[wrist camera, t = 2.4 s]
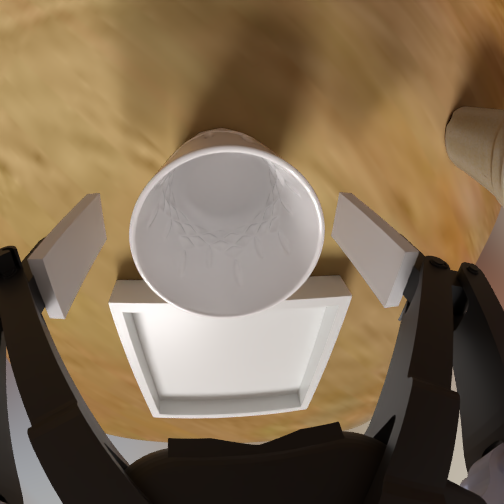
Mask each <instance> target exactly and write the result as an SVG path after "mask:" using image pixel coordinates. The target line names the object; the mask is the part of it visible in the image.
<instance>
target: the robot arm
mask: <svg viewBox="0 0 504 504" xmlns="http://www.w3.org/2000/svg"><path fill="white" fill-rule="evenodd" d="M331 236H332V237H333V239H334V240H335V241H336V242H337V244H338V245H339V246H340V248H341V249H342V250H343V252H344V253H345V254H346V255H347V257H348V258H349V259H350V261H351V262H352V263H353V265H354V266H355V267H356V269H357V270H358V271H359V273H360V274H361V276H362V277H363V278H364V280H365V281H366V282H367V284H368V285H369V287H370V288H371V289H372V291H373V292H374V294H375V295H376V296H377V298H378V299H379V301H380V302H381V303H382V305H383V306H384V308H387V307H395V306H398V305H399V303H400V300H401V298H402V296H403V295H404V296H405V298H406V299H407V302H406V304H405V306H404V309H403V311H402V313H401V315H400V317H399V319H398V320H399V321H401V324H400V328H399V332H398V336H397V340H396V344H395V348H394V352H393V355H392V359H391V363H390V366H389V369H388V373H387V376H386V379H385V382H384V385H383V388H382V391H381V394H380V397H379V400H378V403H377V406H376V409H375V411H374V414H373V417H372V419H371V422H370V424H369V427H368V429H367V431H366V432H365V434H364V435H363V434H359V433H354V432H345V431H342V429H341V427H340V424H339V422H335V423H331V424H326V425H321V426H316V427H311V428H305V429H300V430H298V431H295V432H293V433H290V434H288V435H285V436H283V437H280V438H278V439H275V440H272V441H270V442H267V443H264V444H261V445H251V444H243V443H236V442H230V441H224V440H218V439H212V438H205V439H175V438H168V448H167V449H163V450H159V451H156V452H153V453H150V454H148V455H146V456H143V457H142V458H140V459H138V460H136V461H135V462H134V463H132V464H131V465H129V464H128V462H127V461H126V460H125V459H124V458H123V457H122V455H121V454H120V453H119V452H118V451H117V449H116V448H115V447H114V445H113V444H112V442H111V441H110V440H109V438H108V437H107V435H106V434H105V433H104V431H103V430H102V428H101V427H100V425H99V424H98V422H97V421H96V419H95V418H94V416H93V414H92V413H91V411H90V410H89V408H88V406H87V405H86V403H85V401H84V400H83V398H82V396H81V395H80V393H79V391H78V389H77V387H76V386H75V384H74V382H73V380H72V378H71V376H70V375H69V373H68V371H67V369H66V367H65V365H64V363H63V361H62V359H61V357H60V355H59V352H58V350H57V348H56V346H55V344H54V342H53V339H52V337H51V335H50V332H49V330H48V328H47V325H46V323H45V320H44V318H43V316H42V314H41V313H42V311H43V309H44V307H45V308H46V310H47V312H48V315H49V317H50V318H58V319H65V318H66V315H67V313H68V311H69V309H70V307H71V305H72V303H73V301H74V299H75V297H76V295H77V293H78V291H79V289H80V287H81V285H82V283H83V281H84V279H85V277H86V275H87V273H88V271H89V270H90V268H91V266H92V264H93V262H94V260H95V259H96V257H97V255H98V253H99V252H100V250H101V248H102V246H103V245H104V243H105V241H106V240H107V237H106V232H105V226H104V220H103V213H102V207H101V199H100V193H95V194H87V195H86V196H85V197H84V198H83V199H82V200H81V201H80V202H79V203H78V204H77V205H76V206H75V207H74V208H73V209H72V210H71V211H70V212H69V213H68V214H67V215H66V216H65V217H64V218H63V219H62V220H61V221H60V222H59V223H58V224H57V225H56V227H55V228H54V229H53V230H52V231H51V232H50V233H49V234H48V235H47V236H46V237H45V238H43V239H42V240H40V241H39V242H38V243H37V244H36V245H35V247H34V248H33V249H32V250H31V251H30V253H29V254H28V255H27V256H26V257H25V258H24V260H23V261H22V262H21V260H20V257H19V254H18V251H17V248H16V247H15V246H6V247H3V248H1V249H0V504H23V497H22V492H21V488H20V483H19V478H18V475H17V470H16V465H15V460H14V456H13V450H12V444H11V437H10V429H9V422H8V411H7V396H6V346H7V350H8V354H9V358H10V362H11V366H12V370H13V373H14V377H15V379H16V383H17V386H18V389H19V392H20V395H21V398H22V401H23V404H24V407H25V409H26V412H27V415H28V417H29V420H30V422H31V425H32V427H30V428H28V436H29V439H30V442H31V444H32V447H33V449H34V451H35V453H36V455H37V457H38V459H39V461H40V463H41V465H42V467H43V469H44V471H45V473H46V475H47V477H48V479H49V481H50V483H51V484H52V486H53V488H54V490H55V491H56V493H57V495H58V496H59V498H60V500H61V501H62V503H63V504H504V311H503V309H502V307H501V305H500V303H499V301H498V299H497V297H496V295H495V293H494V291H493V289H492V288H491V286H490V284H489V282H488V281H487V279H486V277H485V275H484V274H483V272H482V271H481V270H480V269H479V268H478V267H477V266H476V265H474V264H470V263H466V262H464V263H462V264H461V266H460V268H459V271H452V270H450V267H449V265H448V264H447V263H446V262H445V261H443V260H442V259H440V258H437V257H434V256H426V257H425V256H424V255H423V254H422V253H421V252H420V251H419V250H418V249H417V248H416V247H415V246H413V245H412V244H411V243H410V242H409V241H408V240H407V239H406V238H405V237H404V236H403V235H401V234H399V233H398V232H397V231H396V230H395V229H394V228H393V227H391V226H390V225H389V224H388V223H387V222H386V221H384V220H383V219H382V218H381V217H380V216H379V215H377V214H376V213H375V212H374V211H373V210H371V209H370V208H369V207H368V206H367V205H365V204H364V203H363V202H362V201H360V200H359V199H358V198H357V197H356V196H354V195H353V194H352V193H343V192H339V198H338V203H337V209H336V214H335V219H334V225H333V230H332V235H331ZM466 311H467V312H466ZM452 366H453V370H454V375H455V381H456V387H457V392H455V391H452V390H451V379H452ZM459 410H460V417H461V426H462V438H463V450H464V458H465V463H466V468H467V472H468V477H467V478H465V479H464V480H463V481H462V482H461V484H460V486H459V485H457V484H455V483H453V482H451V481H449V480H447V478H448V474H449V470H450V466H451V461H452V456H453V451H454V445H455V439H456V433H457V426H458V418H459Z"/></svg>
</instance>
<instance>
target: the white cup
mask: <svg viewBox="0 0 504 504" xmlns="http://www.w3.org/2000/svg"><path fill="white" fill-rule="evenodd" d="M324 232H325V227H324V217H323V212H322V208H321V205H320V202H319V200H318V197H317V195H316V193H315V191H314V190H313V188H312V186H311V185H310V184H309V182H308V181H307V180H306V179H305V177H304V176H303V175H302V174H301V173H300V172H299V171H298V170H297V169H295V168H294V167H293V166H292V165H290V164H289V163H288V162H286V161H285V160H284V159H282V158H281V157H280V156H278V155H277V154H276V153H275V152H273V151H272V150H271V149H269V148H268V147H267V146H265V145H264V144H262V143H261V142H259V141H257V140H256V139H254V138H252V137H250V136H248V135H246V134H245V133H242V132H238V131H234V130H230V129H226V128H218V129H213V130H208V131H204V132H200V133H198V134H197V135H196V136H194V137H193V138H192V139H190V140H188V141H187V142H185V143H184V144H183V145H182V146H180V147H179V148H178V149H177V150H176V151H175V152H174V153H173V154H172V155H171V156H170V157H169V158H168V160H167V161H166V162H165V163H164V164H163V166H162V167H161V168H160V169H159V170H158V172H157V173H156V174H155V175H154V176H153V178H152V179H151V180H150V181H149V182H148V184H147V185H146V186H145V188H144V189H143V191H142V192H141V194H140V196H139V198H138V200H137V202H136V204H135V207H134V210H133V213H132V217H131V221H130V230H129V240H130V248H131V253H132V257H133V260H134V263H135V265H136V267H137V270H138V271H139V273H140V275H141V277H142V278H143V280H144V281H145V282H146V284H147V285H148V286H149V287H150V288H151V289H152V290H153V291H154V292H155V293H156V294H157V295H158V296H159V297H160V298H162V299H163V300H164V301H166V302H167V303H169V304H171V305H172V306H174V307H176V308H178V309H180V310H182V311H185V312H187V313H190V314H194V315H197V316H202V317H207V318H217V319H230V318H240V317H246V316H250V315H254V314H257V313H260V312H263V311H265V310H268V309H270V308H272V307H274V306H276V305H278V304H279V303H281V302H283V301H284V300H286V299H287V298H288V297H290V296H291V295H292V294H293V293H295V292H296V291H297V290H298V289H299V288H300V287H301V286H302V285H303V284H304V282H305V281H306V280H307V279H308V277H309V276H310V274H311V273H312V271H313V270H314V268H315V266H316V264H317V262H318V260H319V257H320V254H321V251H322V247H323V242H324Z"/></svg>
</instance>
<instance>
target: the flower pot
mask: <svg viewBox="0 0 504 504" xmlns="http://www.w3.org/2000/svg"><path fill="white" fill-rule="evenodd" d="M445 144H446V150H447V154H448V156H449V158H450V159H451V161H452V162H453V163H454V164H455V165H456V166H457V167H458V168H460V169H461V170H463V171H464V172H465V173H467V174H468V175H469V176H471V177H472V178H473V179H475V180H476V181H477V182H478V183H480V184H481V185H482V186H484V187H485V188H486V189H487V190H488V191H490V192H491V193H492V194H493V195H494V196H495V197H496V199H497V201H498V202H499V203H500V204H501V205H502V206H503V207H504V110H500V109H489V108H478V107H461V108H458V109H457V110H455V111H454V112H453V115H452V118H451V120H450V122H449V123H448V124H447V126H446V133H445Z"/></svg>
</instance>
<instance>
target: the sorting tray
mask: <svg viewBox="0 0 504 504" xmlns="http://www.w3.org/2000/svg"><path fill="white" fill-rule="evenodd" d="M351 298H352V295H351V293H350V291H349V290H348V288H347V286H346V285H345V283H344V281H343V280H342V278H341V276H340V275H333V276H310V277H308V279H307V280H306V281H305V282H304V284H303V285H302V286H301V287H300V288H299V289H298V290H297V291H296V292H295V293H293V294H292V295H291V296H290V297H288V298H287V299H286V300H284V301H283V302H281V303H279V304H278V305H276V306H274V307H272V308H270V309H268V310H265V311H263V312H260V313H257V314H254V315H250V316H246V317H240V318H230V319H217V318H207V317H202V316H197V315H194V314H190V313H187V312H185V311H182V310H180V309H178V308H176V307H174V306H172V305H171V304H169V303H167V302H166V301H164V300H163V299H162V298H160V297H159V296H158V295H157V294H156V293H155V292H154V291H153V290H152V289H151V288H150V287H149V286H148V285H147V284H146V282H145V281H144V280H117V281H116V283H115V286H114V289H113V291H112V294H111V297H110V299H109V302H108V303H109V306H110V310H111V313H112V316H113V319H114V322H115V325H116V328H117V331H118V334H119V337H120V339H121V342H122V345H123V348H124V350H125V353H126V355H127V358H128V361H129V363H130V366H131V368H132V371H133V373H134V375H135V378H136V380H137V382H138V385H139V387H140V389H141V392H142V394H143V396H144V398H145V400H146V403H147V405H148V407H149V409H150V411H151V413H152V415H153V417H161V418H223V417H241V416H254V415H265V414H274V413H282V412H290V411H297V410H304V409H307V407H308V405H309V403H310V401H311V399H312V396H313V394H314V392H315V390H316V388H317V385H318V383H319V381H320V378H321V376H322V374H323V371H324V369H325V367H326V364H327V362H328V359H329V357H330V355H331V352H332V350H333V347H334V344H335V342H336V339H337V337H338V334H339V331H340V329H341V326H342V323H343V321H344V318H345V315H346V312H347V309H348V306H349V304H350V301H351Z"/></svg>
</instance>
